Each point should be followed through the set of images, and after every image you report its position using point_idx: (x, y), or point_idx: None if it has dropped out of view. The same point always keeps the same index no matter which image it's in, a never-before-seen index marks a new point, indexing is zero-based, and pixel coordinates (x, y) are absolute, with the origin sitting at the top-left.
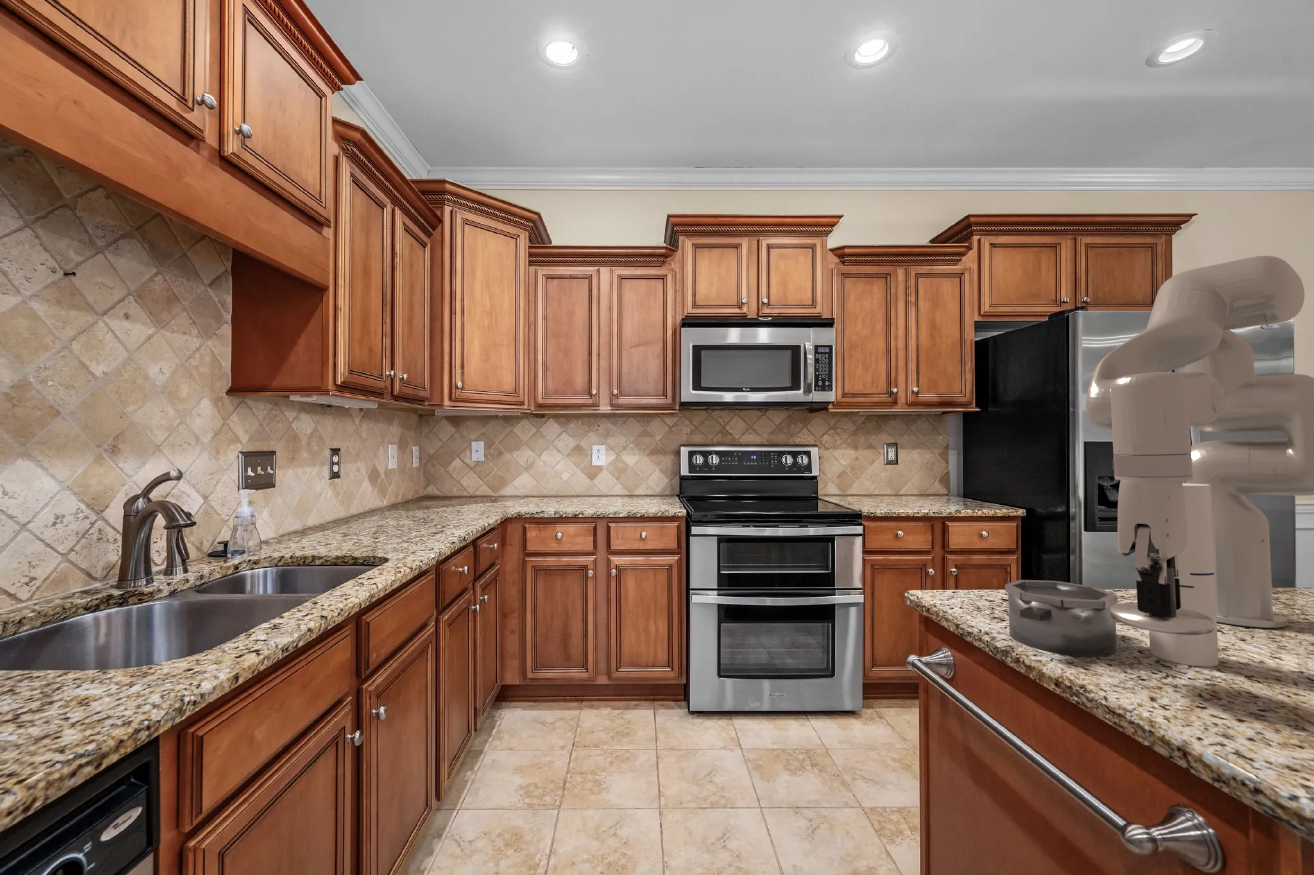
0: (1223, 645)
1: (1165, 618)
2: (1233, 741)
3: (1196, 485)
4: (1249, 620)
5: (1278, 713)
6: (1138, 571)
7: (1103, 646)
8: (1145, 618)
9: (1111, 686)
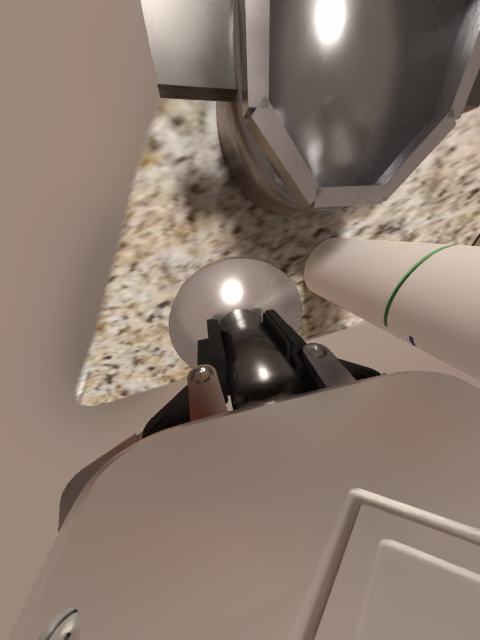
0: None
1: None
2: (132, 367)
3: None
4: None
5: None
6: (152, 419)
7: (271, 209)
8: (190, 330)
9: (157, 267)
